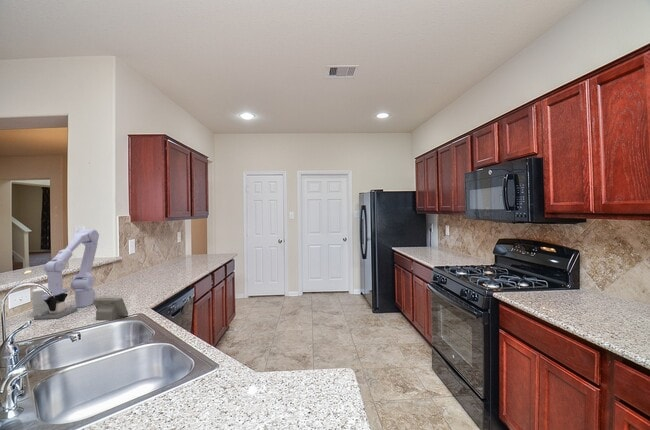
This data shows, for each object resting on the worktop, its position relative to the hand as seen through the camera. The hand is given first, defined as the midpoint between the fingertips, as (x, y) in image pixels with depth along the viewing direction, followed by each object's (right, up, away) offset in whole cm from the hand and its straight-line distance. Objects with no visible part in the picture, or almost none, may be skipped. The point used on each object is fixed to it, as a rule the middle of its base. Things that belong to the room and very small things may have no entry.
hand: (56, 309), depth 155 cm
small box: (-12, -4, +4) cm, 13 cm away
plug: (0, -2, 0) cm, 2 cm away
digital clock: (+33, -2, -6) cm, 33 cm away
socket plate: (0, -3, 0) cm, 3 cm away
